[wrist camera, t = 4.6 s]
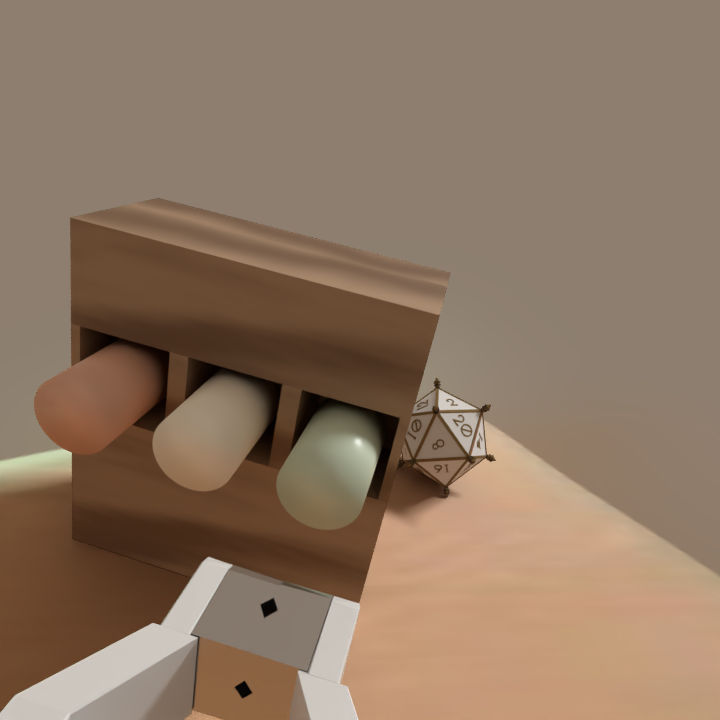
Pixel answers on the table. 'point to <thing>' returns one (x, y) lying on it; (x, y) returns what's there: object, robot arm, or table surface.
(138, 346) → the terracotta button
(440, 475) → the game die
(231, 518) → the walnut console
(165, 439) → the cream button
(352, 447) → the sage button
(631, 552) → the table surface
